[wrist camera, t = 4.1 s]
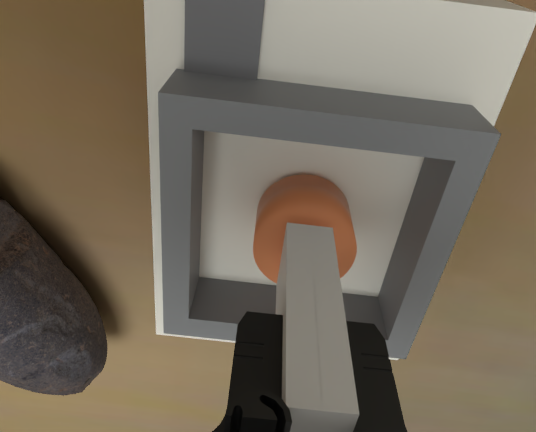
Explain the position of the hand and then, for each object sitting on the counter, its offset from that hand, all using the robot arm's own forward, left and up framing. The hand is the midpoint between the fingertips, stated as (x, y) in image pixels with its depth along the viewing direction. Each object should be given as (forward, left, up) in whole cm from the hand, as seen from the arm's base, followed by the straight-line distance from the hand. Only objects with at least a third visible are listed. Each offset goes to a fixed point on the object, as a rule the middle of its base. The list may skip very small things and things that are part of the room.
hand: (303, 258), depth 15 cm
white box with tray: (0, 0, -7) cm, 7 cm away
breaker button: (0, 0, -3) cm, 3 cm away
